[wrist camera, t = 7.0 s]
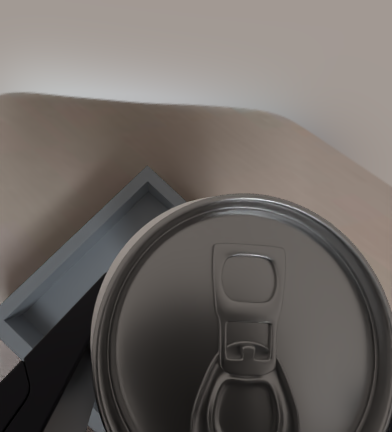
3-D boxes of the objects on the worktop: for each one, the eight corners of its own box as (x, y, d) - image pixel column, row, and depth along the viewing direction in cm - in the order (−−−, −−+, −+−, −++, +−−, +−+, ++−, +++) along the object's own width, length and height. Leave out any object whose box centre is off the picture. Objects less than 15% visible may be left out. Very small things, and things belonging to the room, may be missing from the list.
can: (129, 356, 16) (31, 578, 4) (140, 239, 17) (90, 157, 6) (245, 360, 16) (445, 562, 5) (247, 246, 18) (404, 185, 6)
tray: (153, 454, 19) (152, 488, 16) (9, 314, 20) (-18, 321, 17) (275, 297, 23) (294, 301, 19) (148, 180, 23) (147, 165, 20)
